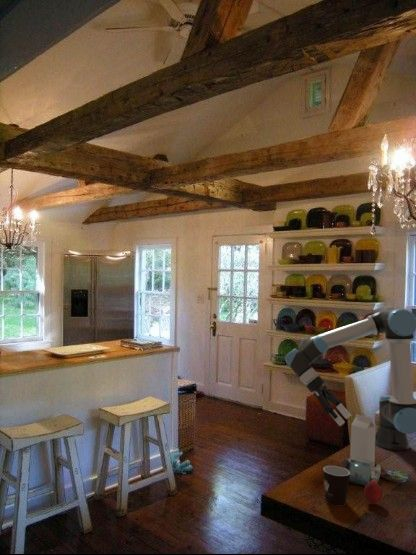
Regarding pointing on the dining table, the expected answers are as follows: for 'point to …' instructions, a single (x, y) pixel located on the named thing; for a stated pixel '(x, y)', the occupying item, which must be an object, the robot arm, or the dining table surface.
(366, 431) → the milk carton
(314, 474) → the dining table surface
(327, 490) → the coffee mug
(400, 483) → the dining table surface
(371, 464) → the motor
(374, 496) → the onion
